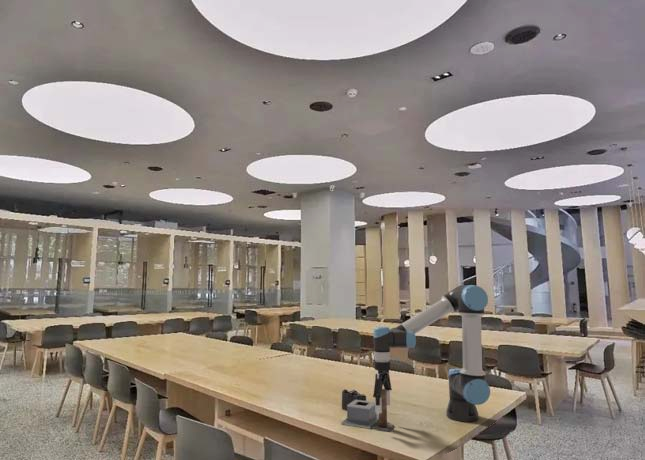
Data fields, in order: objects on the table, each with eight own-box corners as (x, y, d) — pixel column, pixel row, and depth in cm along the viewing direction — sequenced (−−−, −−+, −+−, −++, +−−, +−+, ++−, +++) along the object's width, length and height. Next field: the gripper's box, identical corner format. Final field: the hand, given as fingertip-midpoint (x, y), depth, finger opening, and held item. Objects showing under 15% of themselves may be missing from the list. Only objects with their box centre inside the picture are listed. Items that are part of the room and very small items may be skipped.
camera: (374, 410, 211) (373, 390, 212) (362, 415, 202) (362, 394, 204) (351, 405, 219) (351, 386, 221) (339, 409, 211) (339, 389, 212)
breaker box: (381, 417, 198) (381, 400, 199) (370, 428, 182) (369, 410, 183) (354, 413, 204) (354, 397, 205) (341, 424, 188) (341, 406, 189)
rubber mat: (394, 426, 186) (394, 424, 186) (389, 431, 178) (389, 430, 178) (377, 423, 189) (377, 422, 189) (372, 429, 182) (372, 427, 182)
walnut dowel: (387, 425, 185) (387, 389, 187) (385, 428, 181) (385, 390, 184) (380, 424, 186) (379, 388, 188) (378, 426, 183) (377, 390, 185)
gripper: (382, 356, 201) (382, 400, 198) (365, 364, 178) (366, 415, 175) (396, 357, 198) (397, 402, 194) (382, 366, 175) (383, 417, 172)
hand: (382, 408), depth 185 cm, fingers open, 13 cm apart
